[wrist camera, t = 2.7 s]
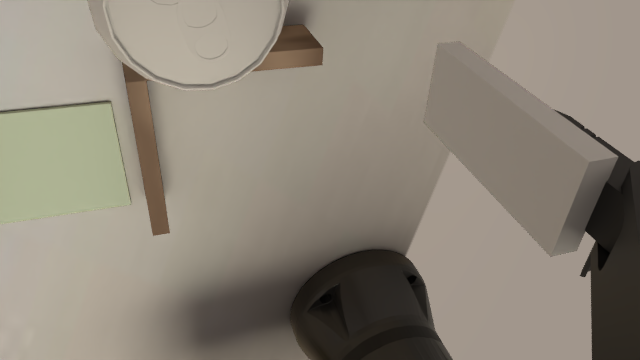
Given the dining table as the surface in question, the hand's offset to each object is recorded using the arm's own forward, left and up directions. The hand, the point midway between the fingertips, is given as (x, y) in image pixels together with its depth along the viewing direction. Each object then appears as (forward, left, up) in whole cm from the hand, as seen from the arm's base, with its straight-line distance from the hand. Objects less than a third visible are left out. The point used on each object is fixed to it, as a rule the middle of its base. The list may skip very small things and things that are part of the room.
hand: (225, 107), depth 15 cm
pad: (+10, +15, -23) cm, 29 cm away
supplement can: (0, 0, -23) cm, 23 cm away
